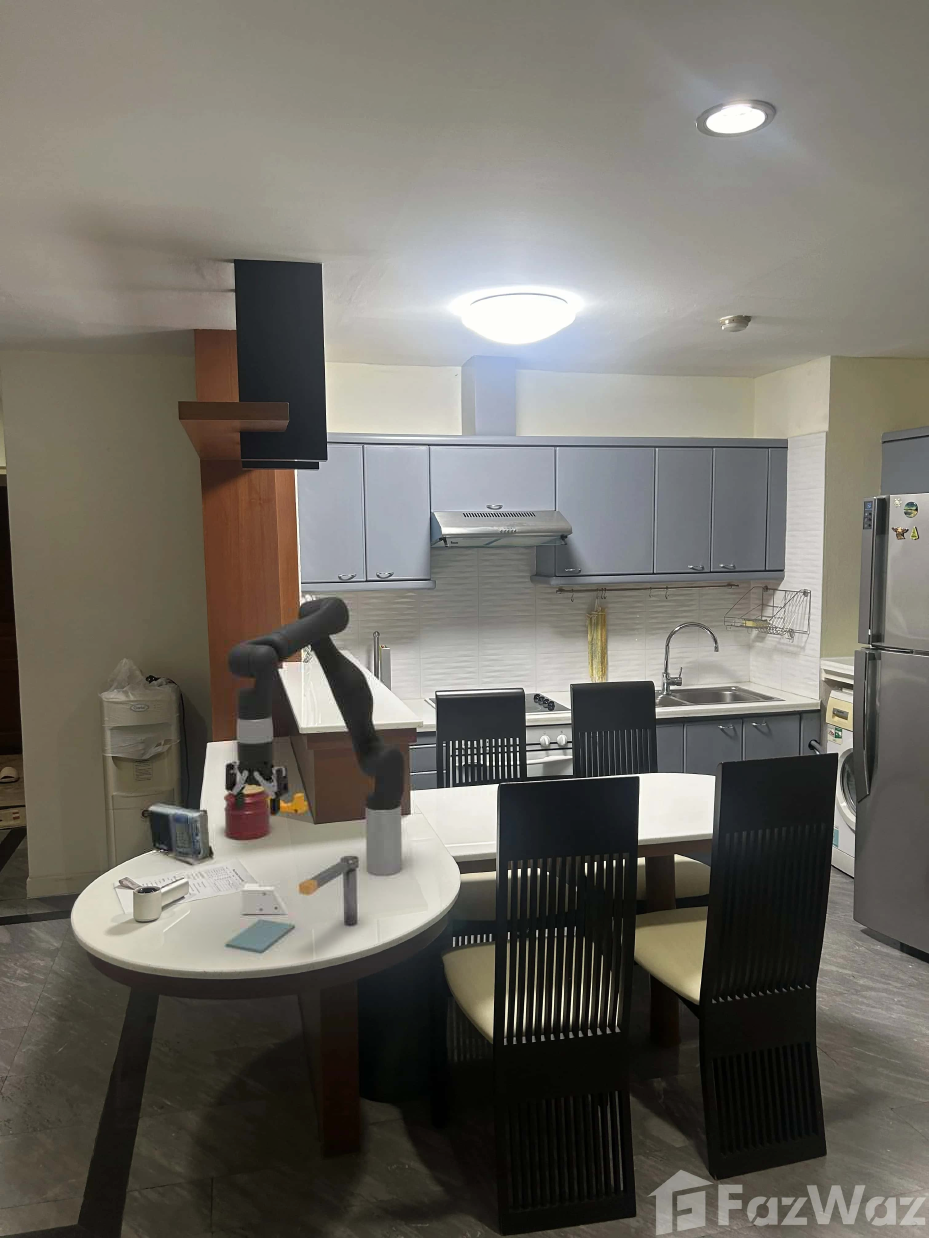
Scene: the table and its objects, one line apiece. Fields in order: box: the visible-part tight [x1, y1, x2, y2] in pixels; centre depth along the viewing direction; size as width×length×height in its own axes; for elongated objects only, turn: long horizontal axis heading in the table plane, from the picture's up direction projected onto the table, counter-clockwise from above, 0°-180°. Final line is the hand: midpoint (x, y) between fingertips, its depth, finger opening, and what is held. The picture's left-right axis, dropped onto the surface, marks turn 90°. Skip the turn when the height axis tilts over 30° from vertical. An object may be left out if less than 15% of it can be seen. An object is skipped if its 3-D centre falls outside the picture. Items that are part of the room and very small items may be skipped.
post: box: [342, 868, 358, 927], centre depth 198 cm, size 3×3×13 cm
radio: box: [147, 803, 215, 867], centre depth 242 cm, size 23×8×14 cm, turn 46°
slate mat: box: [224, 918, 296, 955], centre depth 191 cm, size 13×9×1 cm
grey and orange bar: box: [298, 855, 360, 896], centre depth 190 cm, size 19×4×2 cm, turn 154°
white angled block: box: [242, 883, 289, 915], centre depth 204 cm, size 4×10×9 cm
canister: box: [223, 785, 271, 841], centre depth 258 cm, size 13×13×18 cm
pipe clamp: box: [268, 792, 308, 814], centre depth 282 cm, size 12×4×6 cm, turn 68°
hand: (257, 812), depth 189 cm, fingers open, 8 cm apart
